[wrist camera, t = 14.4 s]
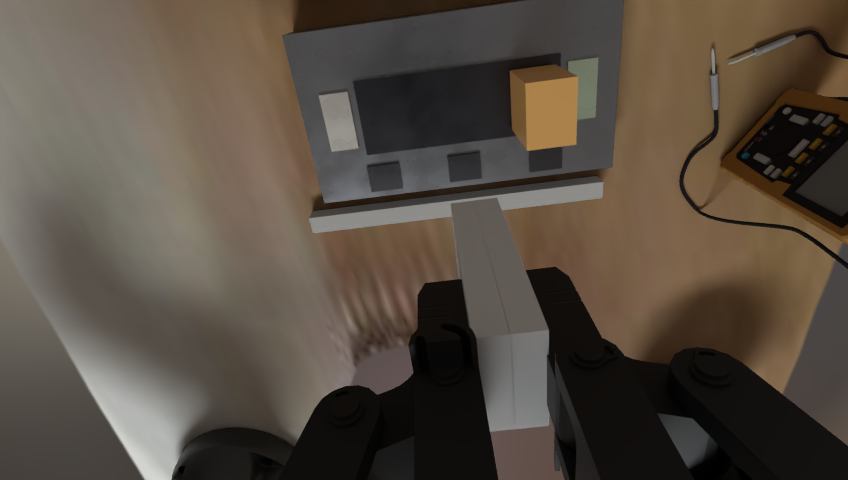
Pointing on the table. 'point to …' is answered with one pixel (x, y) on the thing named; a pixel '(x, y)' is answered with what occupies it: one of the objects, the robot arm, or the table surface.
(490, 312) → the robot arm
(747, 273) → the table surface
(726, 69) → the table surface
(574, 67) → the grey control panel
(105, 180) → the table surface
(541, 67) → the orange rectangular block
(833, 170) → the multimeter
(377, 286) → the table surface
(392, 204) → the light grey rod
